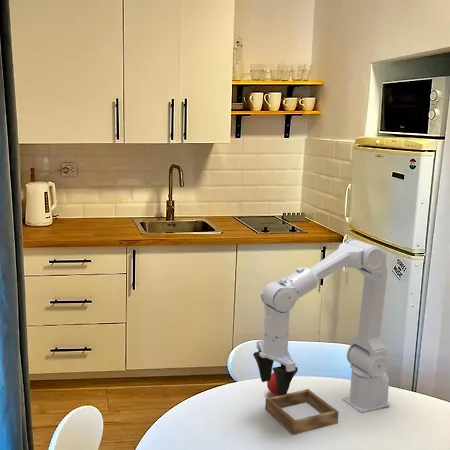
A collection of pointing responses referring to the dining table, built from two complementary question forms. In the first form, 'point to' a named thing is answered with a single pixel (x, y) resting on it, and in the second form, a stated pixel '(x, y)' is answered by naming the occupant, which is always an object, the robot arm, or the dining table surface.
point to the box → (304, 424)
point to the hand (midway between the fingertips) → (273, 387)
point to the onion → (273, 385)
